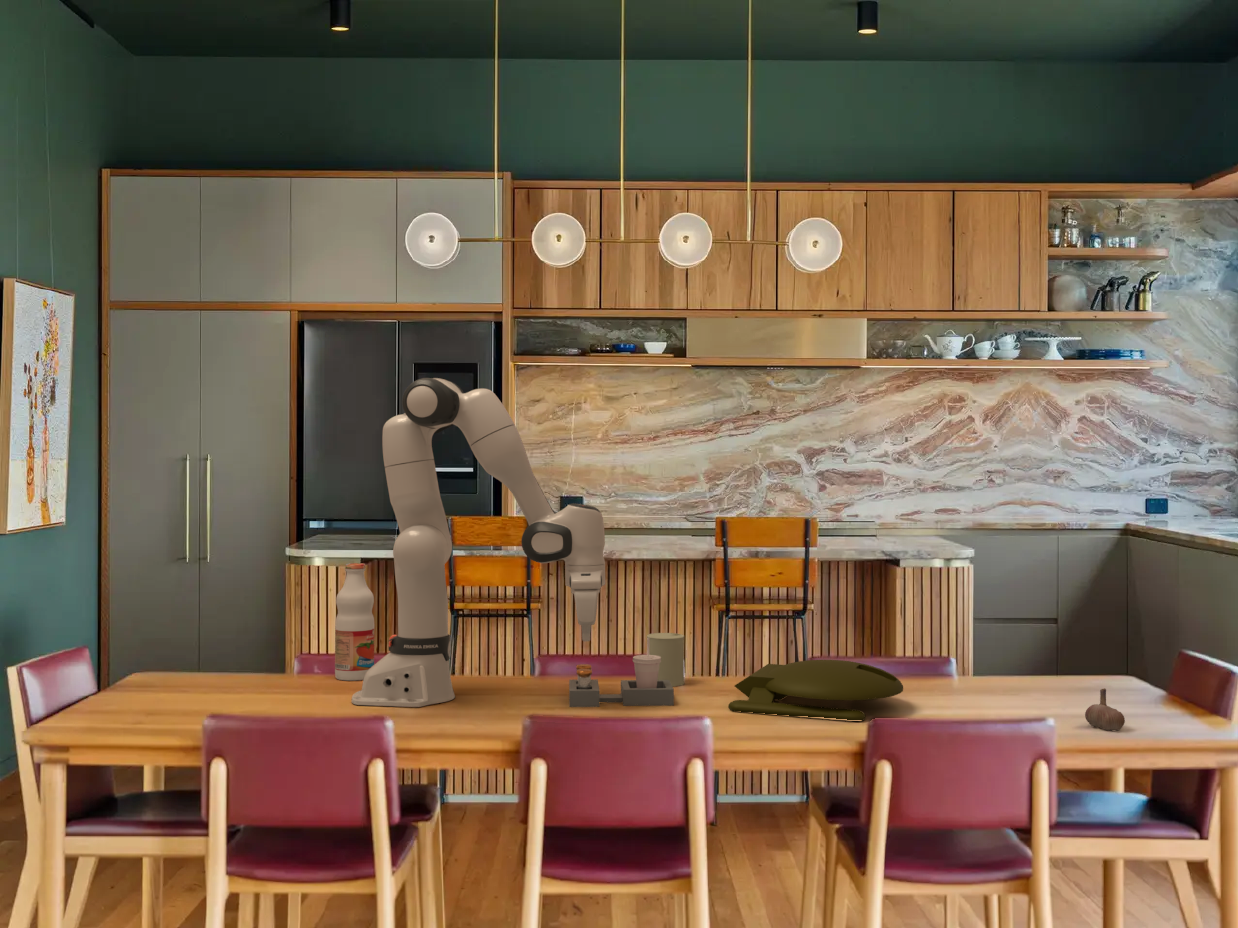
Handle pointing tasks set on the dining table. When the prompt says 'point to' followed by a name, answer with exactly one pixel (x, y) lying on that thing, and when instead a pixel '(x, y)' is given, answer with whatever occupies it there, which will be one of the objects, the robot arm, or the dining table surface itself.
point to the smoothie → (646, 669)
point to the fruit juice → (354, 626)
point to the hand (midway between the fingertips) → (586, 640)
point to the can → (669, 656)
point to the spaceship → (814, 687)
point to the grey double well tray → (622, 694)
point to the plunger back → (583, 666)
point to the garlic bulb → (1104, 715)
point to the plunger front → (584, 678)
